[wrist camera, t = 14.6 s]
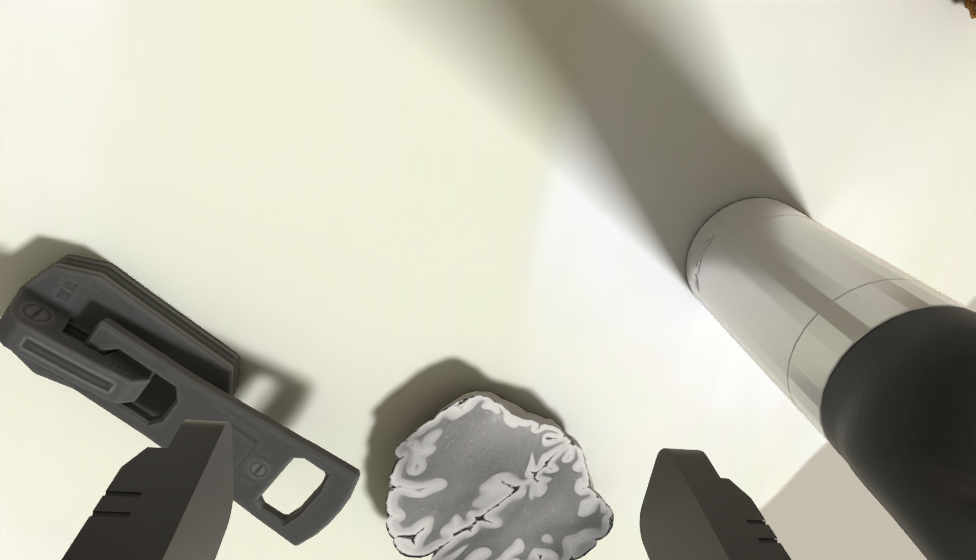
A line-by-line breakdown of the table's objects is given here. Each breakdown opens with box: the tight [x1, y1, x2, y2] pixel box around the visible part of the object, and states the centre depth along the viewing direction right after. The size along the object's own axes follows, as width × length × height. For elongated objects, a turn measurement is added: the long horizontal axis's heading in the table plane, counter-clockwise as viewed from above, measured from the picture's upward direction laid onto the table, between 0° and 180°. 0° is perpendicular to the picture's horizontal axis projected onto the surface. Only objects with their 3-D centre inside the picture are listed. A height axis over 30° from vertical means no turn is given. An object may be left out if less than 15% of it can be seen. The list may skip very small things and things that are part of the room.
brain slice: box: [385, 391, 614, 560], centre depth 52 cm, size 20×17×3 cm
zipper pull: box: [0, 255, 360, 545], centre depth 44 cm, size 9×7×25 cm
